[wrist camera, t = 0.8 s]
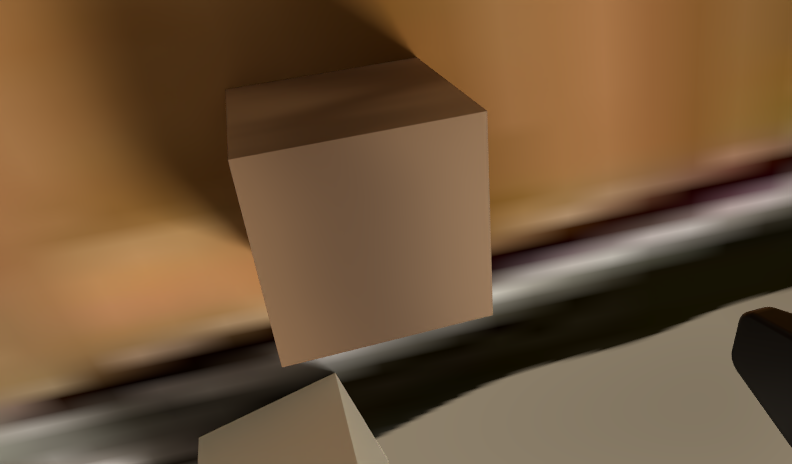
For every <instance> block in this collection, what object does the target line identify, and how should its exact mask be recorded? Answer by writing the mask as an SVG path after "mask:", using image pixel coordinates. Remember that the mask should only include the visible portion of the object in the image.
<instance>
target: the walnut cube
mask: <svg viewBox="0 0 792 464" xmlns="http://www.w3.org/2000/svg"><path fill="white" fill-rule="evenodd" d="M225 91H226V120H227V149H228V162H229V166H230V170H231V174H232V178H233V182H234V185H235V189H236V193H237V197H238V201H239V205H240V208H241V212H242V216H243V220H244V224H245V228H246V231H247V235H248V239H249V243H250V247H251V251H252V255H253V258H254V262H255V266H256V270H257V274H258V278H259V281H260V285H261V289H262V293H263V297H264V301H265V304H266V308H267V312H268V316H269V320H270V324H271V327H272V331H273V335H274V339H275V343H276V347H277V351H278V354H279V358H280V362H281V366H282V367H286V366H290V365H294V364H298V363H302V362H306V361H310V360H314V359H318V358H322V357H326V356H330V355H334V354H338V353H342V352H346V351H350V350H354V349H358V348H362V347H366V346H370V345H374V344H378V343H382V342H386V341H390V340H394V339H398V338H402V337H406V336H410V335H414V334H418V333H422V332H426V331H430V330H434V329H438V328H442V327H446V326H450V325H454V324H458V323H462V322H466V321H470V320H474V319H478V318H482V317H486V316H490V315H493V306H492V270H491V233H490V197H489V161H488V124H487V111H486V110H485V109H484V108H482V107H481V106H480V105H479V104H477V103H476V102H475V101H473V100H472V99H471V98H469V97H468V96H467V95H465V94H464V93H463V92H461V91H460V90H459V89H458V88H456V87H455V86H454V85H452V84H451V83H450V82H448V81H447V80H446V79H444V78H443V77H442V76H440V75H439V74H438V73H437V72H435V71H434V70H433V69H431V68H430V67H429V66H427V65H426V64H425V63H423V62H422V61H421V60H420V59H418V58H417V57H415V58H410V59H404V60H398V61H392V62H386V63H380V64H374V65H368V66H362V67H356V68H350V69H344V70H338V71H332V72H326V73H320V74H315V75H309V76H303V77H297V78H291V79H285V80H279V81H273V82H267V83H261V84H255V85H249V86H243V87H237V88H231V89H225Z"/></svg>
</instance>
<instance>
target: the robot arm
mask: <svg viewBox="0 0 792 464" xmlns="http://www.w3.org/2000/svg"><path fill="white" fill-rule="evenodd" d="M732 361H733V364H734V366H735V368H736V370H737V372H738V373H739V374H740V376H741V377H742V379H743V380H744V381H745V383H746V384H747V385H748V387H749V388H750V390H751V391H752V393H753V394H754V395H755V397H756V398H757V400H758V401H759V402H760V404H761V405H762V407H763V408H764V410H765V411H766V412H767V414H768V415H769V417H770V418H771V419H772V421H773V422H774V423H775V425H776V426H777V428H778V429H779V431H780V432H781V433H782V434H783V436H784V438H785V439H786V440H787V442H788V443H789V445H790V446H791V447H792V313H789V312H785V311H783V310H779V309H777V308H773V307H764V308H760V309H756V310H752V311H749V312H746V313H744V314H743V315H742V316H741V317H740V320H739V323H738V328H737V332H736V336H735V340H734V345H733V349H732Z"/></svg>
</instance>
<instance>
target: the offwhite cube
mask: <svg viewBox="0 0 792 464" xmlns="http://www.w3.org/2000/svg"><path fill="white" fill-rule="evenodd" d="M198 464H389V462H388V459H387V457H386V455H385V453H384V452H383V450H382V448H381V447H380V445H379V443H378V442H377V440H376V439H375V438H374V436H373V434H372V433H371V431H370V429H369V428H368V426H367V424H366V423H365V421H364V420H363V418H362V416H361V415H360V413H359V411H358V410H357V408H356V406H355V405H354V403H353V401H352V400H351V398H350V397H349V395H348V393H347V392H346V390H345V388H344V387H343V385H342V383H341V382H340V380H339V378H338V377H337V375H336V374H335V373H333V374H331V375H329V376H327V377H325V378H323V379H321V380H319V381H317V382H314V383H312V384H310V385H308V386H306V387H304V388H302V389H300V390H298V391H296V392H293V393H291V394H289V395H287V396H285V397H283V398H281V399H279V400H277V401H275V402H273V403H270V404H268V405H266V406H264V407H262V408H260V409H258V410H256V411H254V412H252V413H249V414H247V415H245V416H243V417H241V418H239V419H237V420H235V421H233V422H231V423H229V424H226V425H224V426H222V427H220V428H218V429H216V430H214V431H212V432H210V433H208V434H205V435H203V436H201V437H199V444H198Z"/></svg>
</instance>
